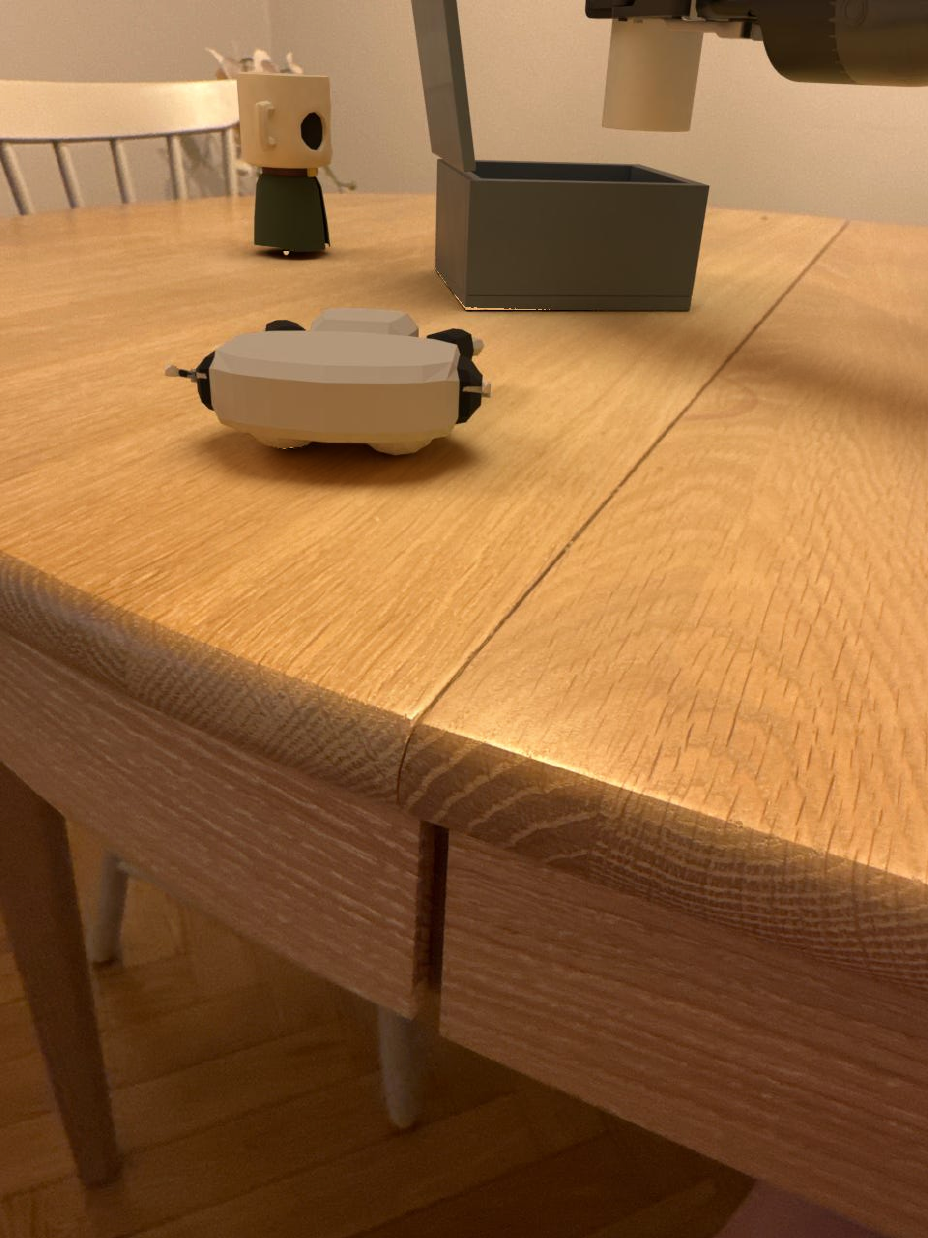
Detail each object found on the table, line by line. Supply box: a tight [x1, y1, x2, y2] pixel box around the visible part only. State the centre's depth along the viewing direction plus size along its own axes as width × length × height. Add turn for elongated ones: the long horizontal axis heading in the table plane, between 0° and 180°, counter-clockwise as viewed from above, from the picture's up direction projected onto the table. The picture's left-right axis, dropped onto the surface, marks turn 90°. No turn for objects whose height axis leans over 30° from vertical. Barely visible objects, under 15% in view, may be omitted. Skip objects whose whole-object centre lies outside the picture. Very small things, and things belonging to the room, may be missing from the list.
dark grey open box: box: [434, 158, 710, 312], centre depth 68 cm, size 16×14×8 cm
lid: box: [410, 0, 476, 172], centre depth 60 cm, size 17×14×1 cm
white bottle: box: [601, 0, 706, 133], centre depth 53 cm, size 5×5×12 cm
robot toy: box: [164, 307, 492, 456], centre depth 42 cm, size 12×4×15 cm
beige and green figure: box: [235, 71, 334, 253], centre depth 75 cm, size 11×7×13 cm, turn 168°
